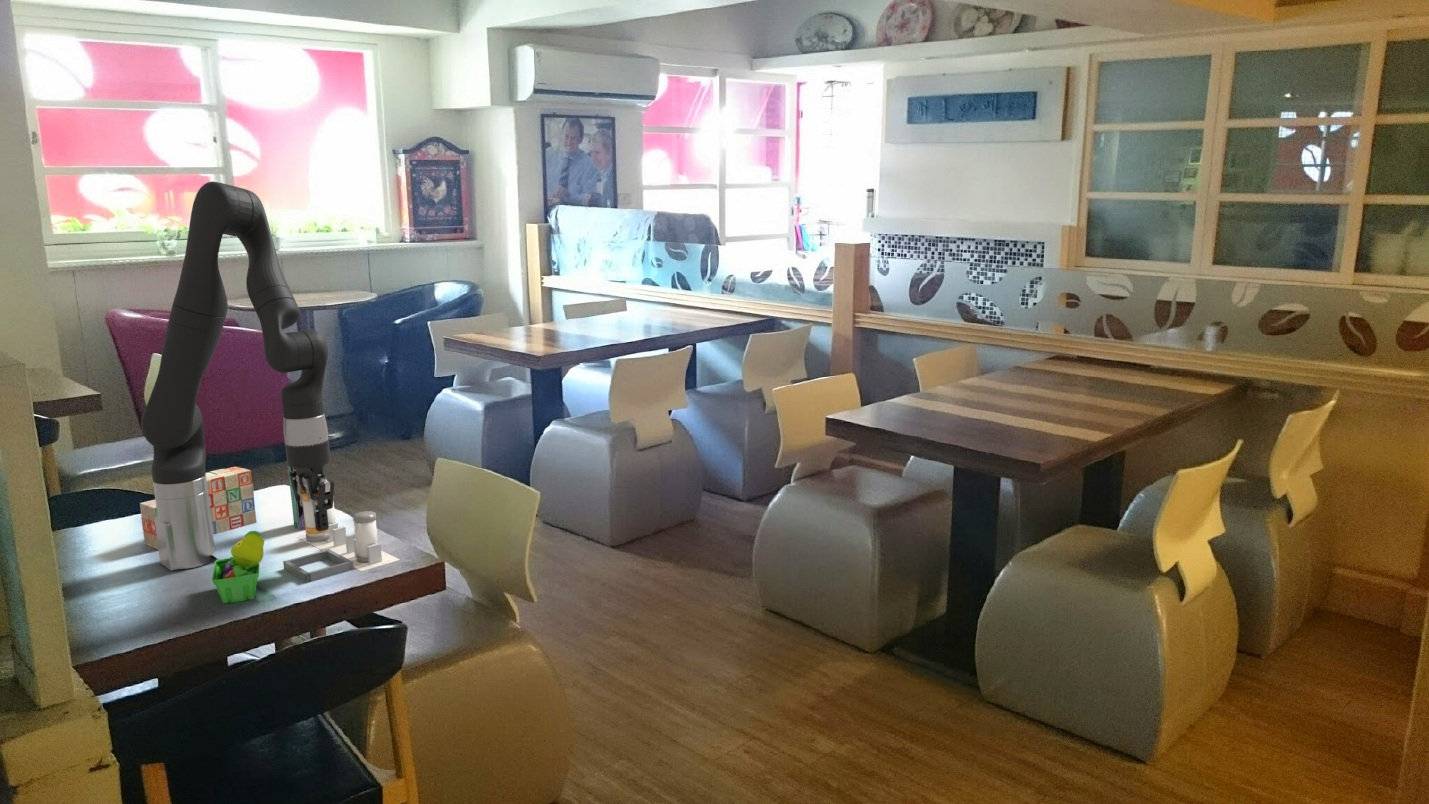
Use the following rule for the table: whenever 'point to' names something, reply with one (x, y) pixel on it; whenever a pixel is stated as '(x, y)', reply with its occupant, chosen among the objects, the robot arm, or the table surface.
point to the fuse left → (331, 514)
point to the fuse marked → (312, 522)
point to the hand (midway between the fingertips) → (316, 527)
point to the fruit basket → (240, 569)
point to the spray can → (296, 507)
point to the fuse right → (364, 533)
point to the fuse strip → (351, 548)
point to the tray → (341, 567)
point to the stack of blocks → (215, 503)
